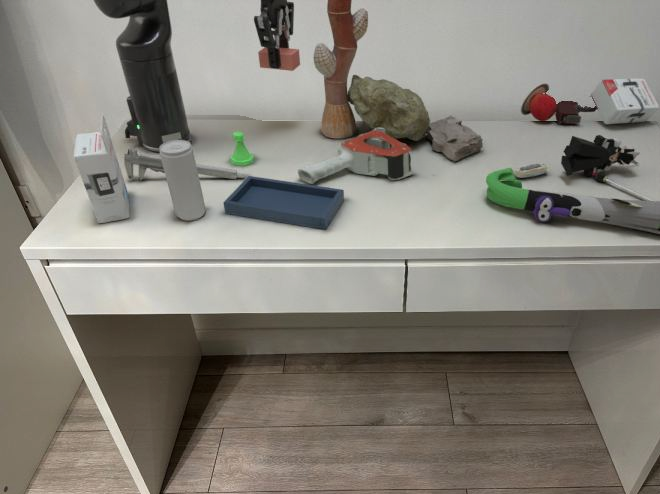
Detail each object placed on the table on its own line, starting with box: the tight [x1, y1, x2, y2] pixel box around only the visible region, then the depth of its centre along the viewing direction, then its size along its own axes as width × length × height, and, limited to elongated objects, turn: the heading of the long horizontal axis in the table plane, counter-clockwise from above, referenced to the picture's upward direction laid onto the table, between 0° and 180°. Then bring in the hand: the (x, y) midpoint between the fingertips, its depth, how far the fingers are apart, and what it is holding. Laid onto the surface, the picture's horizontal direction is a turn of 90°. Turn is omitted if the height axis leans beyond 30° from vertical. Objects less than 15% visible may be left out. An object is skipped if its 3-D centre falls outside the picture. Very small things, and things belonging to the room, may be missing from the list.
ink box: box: [590, 77, 660, 125], centre depth 122 cm, size 8×5×12 cm
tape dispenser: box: [297, 127, 414, 185], centre depth 103 cm, size 18×5×20 cm
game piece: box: [230, 131, 255, 167], centre depth 104 cm, size 4×4×6 cm
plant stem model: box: [313, 0, 369, 140], centre depth 107 cm, size 10×7×30 cm
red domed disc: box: [520, 82, 557, 122], centre depth 122 cm, size 8×8×6 cm
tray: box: [222, 175, 345, 230], centre depth 93 cm, size 18×10×2 cm, turn 75°
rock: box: [347, 74, 431, 141], centre depth 114 cm, size 15×19×15 cm
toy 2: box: [560, 134, 655, 201], centre depth 97 cm, size 8×20×15 cm
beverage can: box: [159, 140, 207, 222], centre depth 87 cm, size 5×5×12 cm
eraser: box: [257, 47, 301, 72], centre depth 109 cm, size 4×7×3 cm, turn 75°
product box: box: [73, 112, 131, 224], centre depth 87 cm, size 9×5×15 cm, turn 21°
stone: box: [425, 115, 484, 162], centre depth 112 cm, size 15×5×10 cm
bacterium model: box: [513, 163, 551, 179], centre depth 102 cm, size 12×2×5 cm
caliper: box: [123, 145, 245, 182], centre depth 98 cm, size 20×1×6 cm, turn 94°
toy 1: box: [485, 167, 660, 235], centre depth 92 cm, size 6×11×30 cm
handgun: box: [554, 101, 598, 125], centre depth 127 cm, size 24×3×15 cm
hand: (280, 63), depth 110 cm, fingers closed on eraser, 4 cm apart
